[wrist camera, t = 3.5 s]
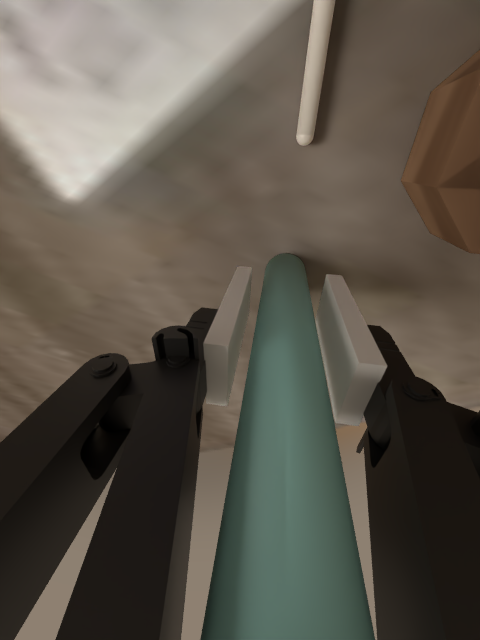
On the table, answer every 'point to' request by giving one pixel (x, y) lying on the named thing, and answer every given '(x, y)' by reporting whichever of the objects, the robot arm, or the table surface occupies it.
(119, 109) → the table surface
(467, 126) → the walnut bead
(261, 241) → the table surface
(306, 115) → the thin beige rod
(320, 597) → the teal rod
